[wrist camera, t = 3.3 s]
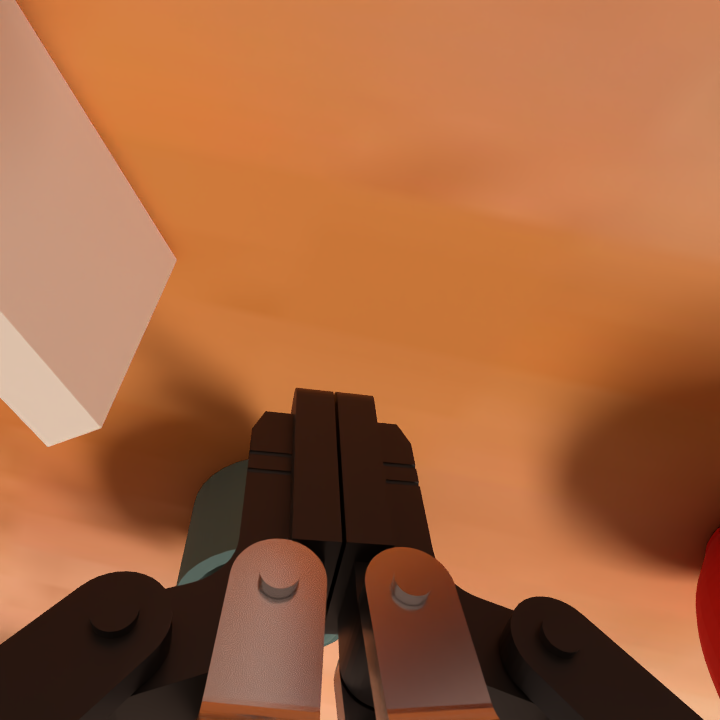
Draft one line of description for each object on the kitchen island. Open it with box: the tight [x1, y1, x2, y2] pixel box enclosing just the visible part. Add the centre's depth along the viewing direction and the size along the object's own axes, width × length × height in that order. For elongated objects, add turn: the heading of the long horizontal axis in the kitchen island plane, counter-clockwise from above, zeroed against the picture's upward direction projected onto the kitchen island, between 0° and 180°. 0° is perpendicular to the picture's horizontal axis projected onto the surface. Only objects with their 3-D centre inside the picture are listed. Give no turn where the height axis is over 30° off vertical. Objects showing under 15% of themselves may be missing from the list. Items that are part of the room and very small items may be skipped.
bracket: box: [176, 459, 338, 646], centre depth 27 cm, size 9×9×9 cm
